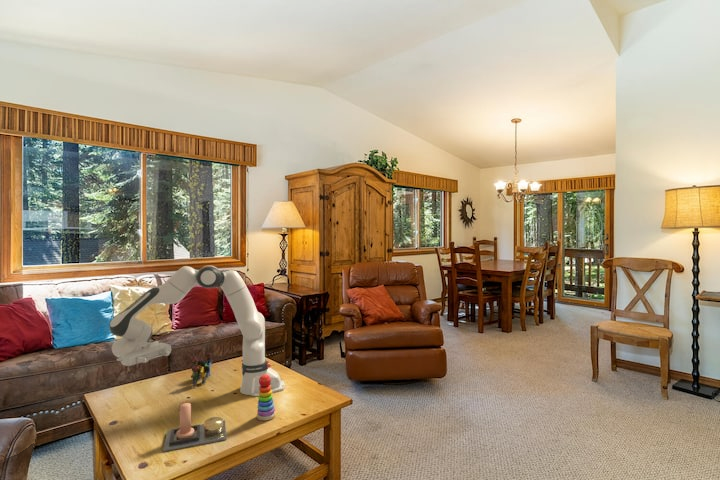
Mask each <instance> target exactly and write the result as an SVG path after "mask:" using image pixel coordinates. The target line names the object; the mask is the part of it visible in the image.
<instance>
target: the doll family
mask: <svg viewBox="0 0 720 480" xmlns="http://www.w3.org/2000/svg"><path fill="white" fill-rule="evenodd" d="M206 357H207V359H206V361H205V360H197V362H196V364H197V365H195V366H193V365H192V367H191V371H192V374H191V375H190V378H192V385H191V389H197V388H198V382H201V383H200V386H205V385H206V384H207V379H208V378H210V377H211V376H212V372H211V367H212V363H213V359H212V357H213V353H212V352H207V353H206Z"/></svg>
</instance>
